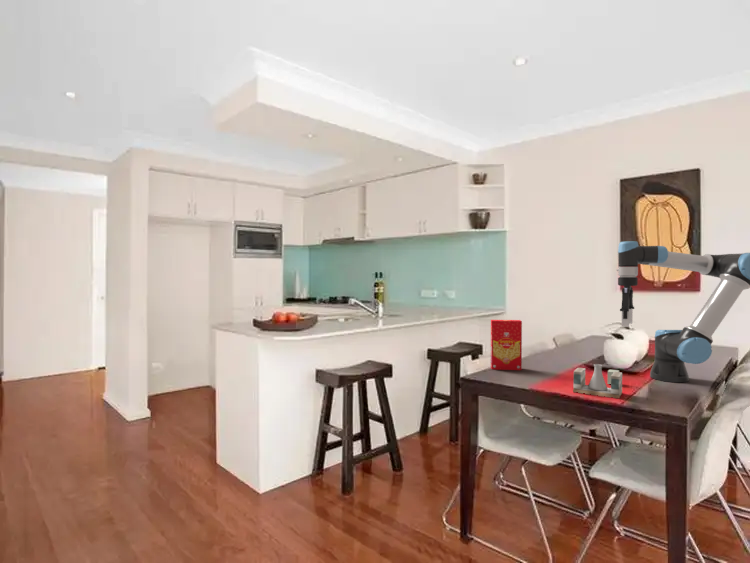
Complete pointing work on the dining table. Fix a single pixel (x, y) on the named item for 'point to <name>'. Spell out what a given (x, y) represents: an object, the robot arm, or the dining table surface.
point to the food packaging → (506, 344)
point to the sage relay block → (610, 375)
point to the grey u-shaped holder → (611, 392)
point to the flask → (597, 379)
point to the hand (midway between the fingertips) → (627, 325)
